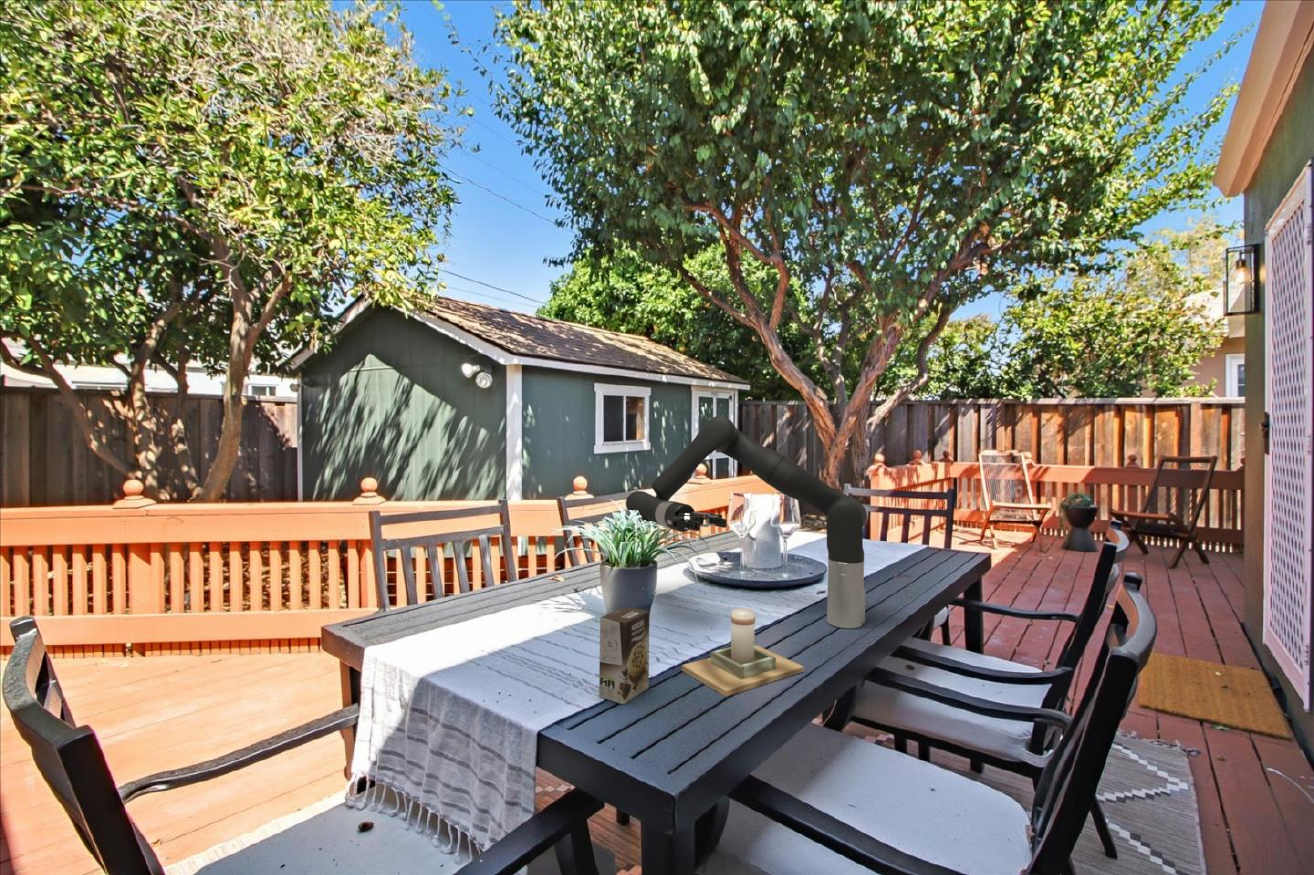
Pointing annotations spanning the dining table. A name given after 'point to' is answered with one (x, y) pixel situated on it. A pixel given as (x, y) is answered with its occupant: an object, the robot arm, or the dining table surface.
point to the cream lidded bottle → (742, 635)
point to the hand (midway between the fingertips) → (712, 525)
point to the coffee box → (624, 654)
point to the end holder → (740, 670)
